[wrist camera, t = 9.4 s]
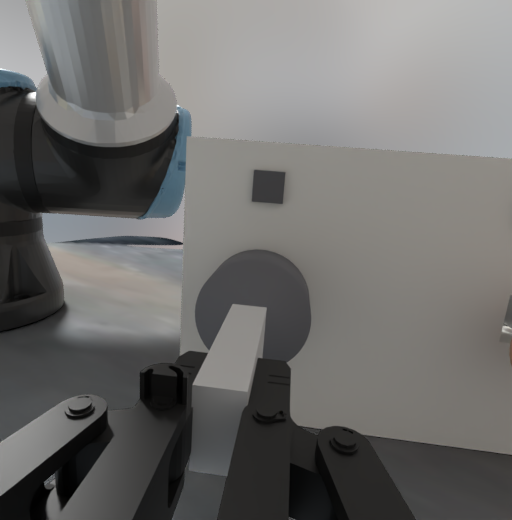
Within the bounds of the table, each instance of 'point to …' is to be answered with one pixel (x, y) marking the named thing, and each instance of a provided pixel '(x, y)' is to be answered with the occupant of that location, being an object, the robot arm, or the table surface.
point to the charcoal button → (258, 300)
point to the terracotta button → (509, 322)
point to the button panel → (371, 279)
